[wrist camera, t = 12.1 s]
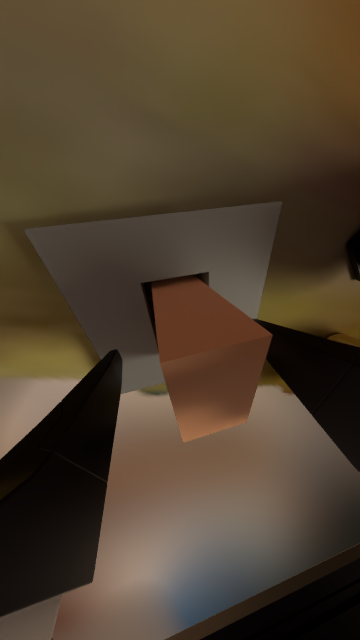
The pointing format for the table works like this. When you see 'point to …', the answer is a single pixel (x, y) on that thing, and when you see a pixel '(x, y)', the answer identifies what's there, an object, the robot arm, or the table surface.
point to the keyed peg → (206, 355)
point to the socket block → (154, 272)
